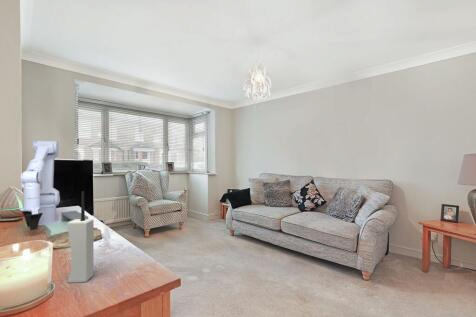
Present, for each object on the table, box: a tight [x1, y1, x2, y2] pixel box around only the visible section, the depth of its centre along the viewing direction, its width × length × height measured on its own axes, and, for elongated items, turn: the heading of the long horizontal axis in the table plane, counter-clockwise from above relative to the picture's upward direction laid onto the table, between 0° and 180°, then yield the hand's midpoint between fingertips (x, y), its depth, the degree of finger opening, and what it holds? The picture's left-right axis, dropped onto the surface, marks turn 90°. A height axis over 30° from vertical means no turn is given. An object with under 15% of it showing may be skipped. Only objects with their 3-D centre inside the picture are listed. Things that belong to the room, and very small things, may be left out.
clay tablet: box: [43, 227, 103, 250], centre depth 96 cm, size 14×5×20 cm
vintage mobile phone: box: [67, 191, 95, 284], centre depth 66 cm, size 4×5×25 cm
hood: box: [60, 210, 89, 222], centre depth 116 cm, size 21×6×6 cm, turn 49°
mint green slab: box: [43, 220, 72, 236], centre depth 112 cm, size 14×12×3 cm
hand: (32, 227), depth 104 cm, fingers open, 7 cm apart
